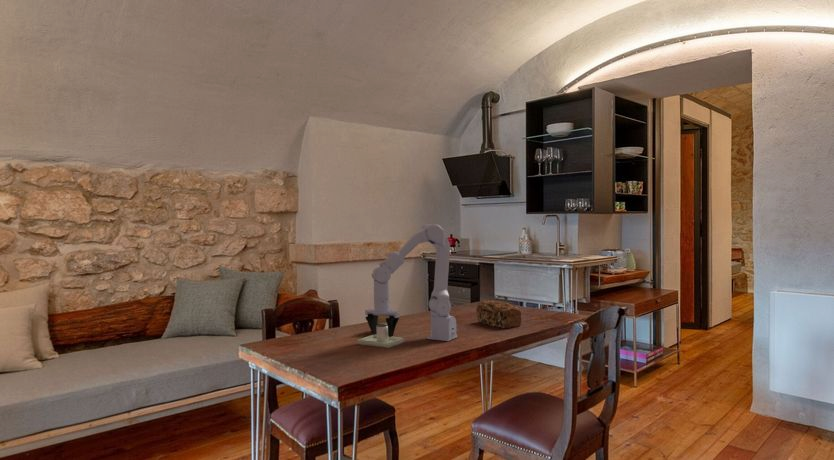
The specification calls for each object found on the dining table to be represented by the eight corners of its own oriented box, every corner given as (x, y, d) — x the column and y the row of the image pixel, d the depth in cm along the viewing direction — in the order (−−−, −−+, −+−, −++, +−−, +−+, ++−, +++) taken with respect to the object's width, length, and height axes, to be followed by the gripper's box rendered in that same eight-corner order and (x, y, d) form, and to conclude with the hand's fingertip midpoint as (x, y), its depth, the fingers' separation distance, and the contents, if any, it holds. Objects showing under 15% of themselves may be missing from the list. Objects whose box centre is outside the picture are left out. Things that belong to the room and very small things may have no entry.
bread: (475, 322, 221) (475, 300, 221) (494, 319, 226) (494, 297, 226) (503, 329, 205) (502, 305, 205) (522, 326, 210) (522, 302, 210)
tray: (403, 342, 187) (403, 338, 187) (388, 348, 178) (387, 343, 178) (373, 338, 194) (373, 334, 194) (357, 344, 186) (357, 339, 186)
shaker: (391, 341, 186) (391, 323, 186) (384, 343, 183) (383, 325, 182) (381, 339, 189) (381, 321, 189) (374, 342, 185) (373, 324, 185)
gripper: (359, 299, 186) (360, 335, 186) (391, 301, 178) (392, 339, 178) (371, 296, 192) (372, 332, 192) (402, 298, 184) (403, 335, 184)
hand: (382, 335), depth 186 cm, fingers open, 7 cm apart
